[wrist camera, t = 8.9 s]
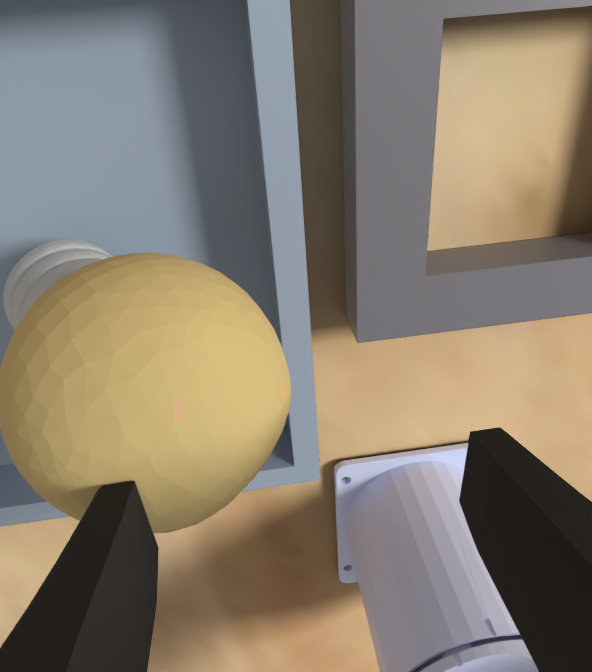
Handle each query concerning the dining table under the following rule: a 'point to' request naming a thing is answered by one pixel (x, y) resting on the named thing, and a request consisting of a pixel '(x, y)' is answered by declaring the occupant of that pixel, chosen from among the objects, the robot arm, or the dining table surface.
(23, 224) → the parts tray
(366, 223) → the socket block
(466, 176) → the dining table surface
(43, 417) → the light bulb
